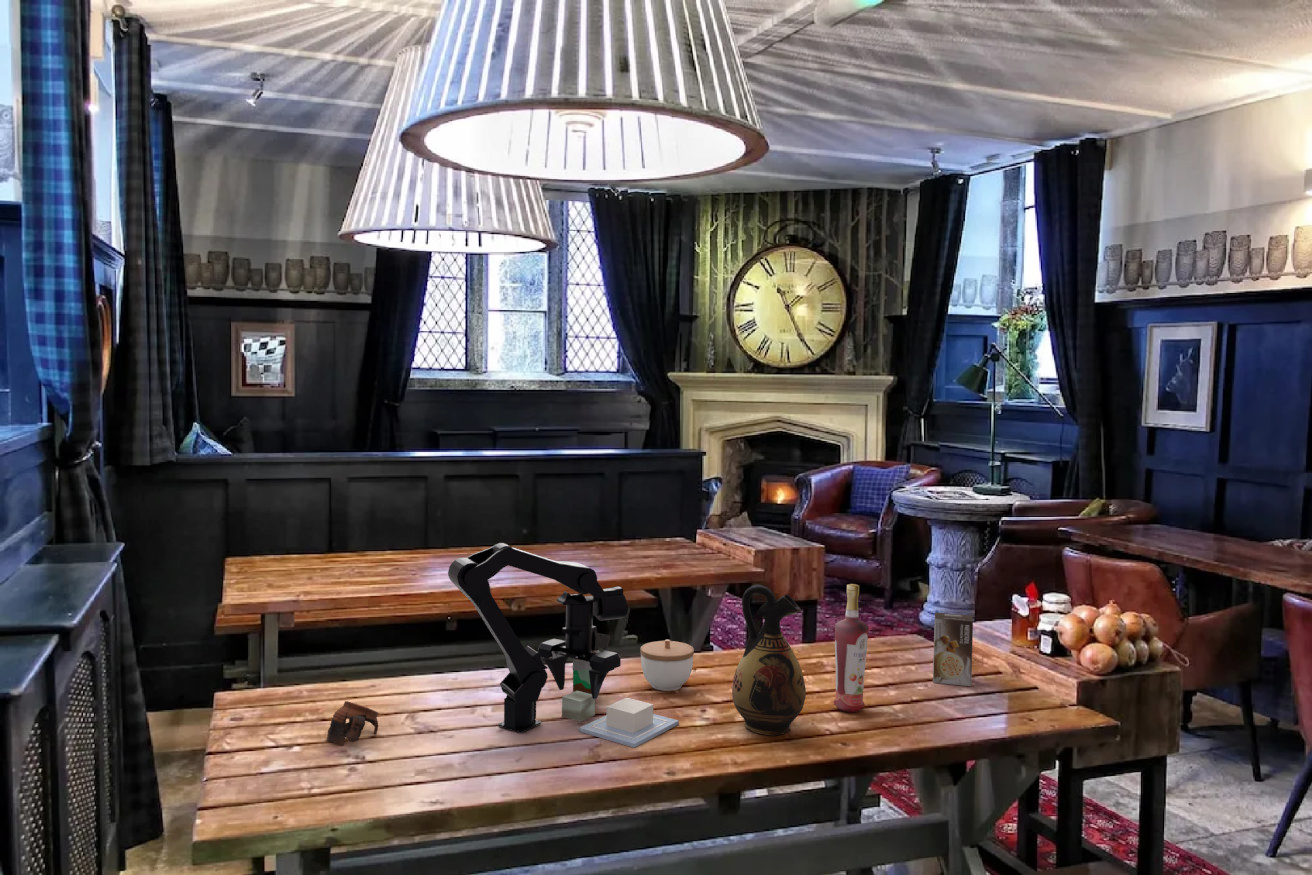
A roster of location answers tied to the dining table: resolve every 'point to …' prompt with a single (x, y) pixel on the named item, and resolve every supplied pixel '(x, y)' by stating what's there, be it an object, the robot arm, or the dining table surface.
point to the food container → (582, 675)
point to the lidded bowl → (666, 664)
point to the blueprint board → (627, 740)
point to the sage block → (578, 706)
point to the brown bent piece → (350, 722)
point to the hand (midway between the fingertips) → (578, 693)
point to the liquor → (850, 655)
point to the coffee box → (953, 649)
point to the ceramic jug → (768, 669)
